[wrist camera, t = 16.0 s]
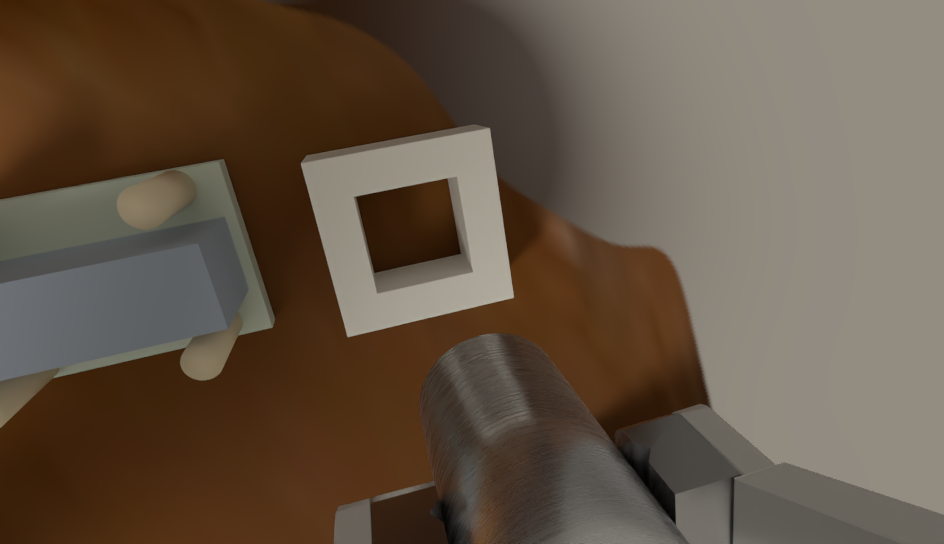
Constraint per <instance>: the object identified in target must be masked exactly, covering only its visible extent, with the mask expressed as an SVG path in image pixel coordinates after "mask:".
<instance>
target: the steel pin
mask: <svg viewBox="0 0 944 544" xmlns="http://www.w3.org/2000/svg"><path fill="white" fill-rule="evenodd" d="M419 412H420V418H421V423H422V428H423V432H424V437H425V442H426V447H427V451H428V456H429V461H430V466H431V470H432V475H433V480H434V481H435V483H436V488H437V492H438V496H439V500H440V504H441V509H442V513H443V518H444V522H445V527H446V531H447V538H448V543H449V544H689V542H688V541H687V540H686V538H685V537H684V536H683V534H682V533H681V532H680V530H679V529H678V528H677V526H676V525H675V524H674V522H673V521H672V520H671V518H670V517H669V516H668V514H667V513H666V512H665V510H664V509H663V508H662V507H661V505H660V504H659V503H658V501H657V500H656V499H655V497H654V496H653V495H652V493H651V492H650V491H649V489H648V488H647V487H646V485H645V484H644V483H643V481H642V480H641V479H640V477H639V476H638V475H637V473H636V472H635V471H634V469H633V468H632V467H631V465H630V464H629V463H628V461H627V460H626V459H625V457H624V456H623V455H622V453H621V452H620V451H619V449H618V448H617V447H616V445H615V444H614V443H613V442H612V440H611V439H610V438H609V436H608V435H607V434H606V432H605V431H604V430H603V428H602V427H601V426H600V424H599V423H598V422H597V420H596V419H595V418H594V416H593V415H592V414H591V412H590V411H589V410H588V408H587V407H586V406H585V404H584V403H583V402H582V400H581V399H580V398H579V396H578V395H577V394H576V392H575V391H574V390H573V388H572V387H571V386H570V384H569V383H568V382H567V381H566V379H565V378H564V377H563V375H562V374H561V373H560V371H559V370H558V369H557V367H556V366H555V365H554V363H553V362H552V361H551V359H550V358H549V357H548V355H547V354H546V353H545V352H544V351H543V350H542V349H541V348H540V347H539V346H537V345H536V344H534V343H533V342H531V341H529V340H527V339H525V338H522V337H519V336H516V335H511V334H501V333H496V334H486V335H481V336H477V337H474V338H471V339H468V340H466V341H464V342H461V343H460V344H458V345H456V346H455V347H453V348H451V349H450V350H449V351H448V352H446V353H445V354H444V355H443V356H442V357H441V358H440V359H439V360H438V361H437V362H436V363H435V364H434V366H433V367H432V368H431V370H430V372H429V373H428V375H427V376H426V379H425V381H424V383H423V386H422V389H421V393H420V400H419Z"/></svg>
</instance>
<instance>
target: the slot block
mask: <svg viewBox="0 0 944 544" xmlns="http://www.w3.org/2000/svg"><path fill="white" fill-rule="evenodd" d="M301 167H302V170H303V174H304V178H305V181H306V185H307V189H308V193H309V196H310V200H311V204H312V207H313V211H314V215H315V218H316V222H317V226H318V229H319V233H320V237H321V241H322V244H323V248H324V252H325V255H326V259H327V263H328V266H329V270H330V274H331V278H332V281H333V285H334V289H335V292H336V296H337V300H338V303H339V307H340V311H341V314H342V318H343V322H344V326H345V329H346V333H347V337H351V336H355V335H359V334H364V333H368V332H372V331H376V330H380V329H385V328H389V327H393V326H397V325H401V324H406V323H410V322H414V321H418V320H422V319H427V318H431V317H435V316H439V315H443V314H448V313H452V312H456V311H460V310H464V309H469V308H473V307H477V306H481V305H485V304H490V303H494V302H498V301H502V300H506V299H511V298H514V294H513V287H512V280H511V273H510V266H509V259H508V252H507V245H506V238H505V231H504V224H503V217H502V210H501V203H500V196H499V189H498V182H497V175H496V168H495V161H494V154H493V147H492V140H491V133H490V128H487V127H483V126H479V125H475V124H474V125H468V126H463V127H457V128H452V129H446V130H441V131H436V132H430V133H425V134H419V135H414V136H409V137H403V138H398V139H392V140H387V141H382V142H376V143H371V144H365V145H360V146H355V147H349V148H344V149H338V150H333V151H327V152H322V153H317V154H311V155H306V157H305V158H304V159H303V161H302V162H301ZM446 178H447V179H448V184H449V190H450V196H451V201H452V207H453V213H454V219H455V224H456V230H457V236H458V241H459V247H460V253H461V254H458V255H453V256H449V257H444V258H440V259H435V260H431V261H426V262H422V263H417V264H413V265H408V266H404V267H399V268H395V269H390V270H386V271H381V272H377V273H374V270H373V265H372V261H371V257H370V253H369V249H368V244H367V240H366V236H365V232H364V228H363V224H362V219H361V215H360V211H359V207H358V203H357V199H356V196H361V195H366V194H371V193H376V192H381V191H386V190H391V189H396V188H401V187H406V186H411V185H416V184H421V183H426V182H431V181H436V180H441V179H446Z"/></svg>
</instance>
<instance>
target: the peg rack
mask: <svg viewBox="0 0 944 544" xmlns="http://www.w3.org/2000/svg"><path fill="white" fill-rule="evenodd" d="M221 217H225V218H226V221H227V224H228V227H229V230H230V233H231V236H232V240H233V243H234V246H235V249H236V252H237V255H238V258H239V261H240V264H241V267H242V270H243V273H244V276H245V279H246V282H247V285H248V288H249V290H248V292H247V294H246V296H245V298H244V300H243V302H242V304H241V306H240V308H239V309H238V311H237V313H236V315H235V317H234V319H233V321H232V323H231V325H230V327H229V329H226V330H222V331H218V332H213V333H209V334H204V335H200V336H196V337H191V338H187V339H182V340H178V341H174V342H169V343H165V344H160V345H156V346H152V347H147V348H143V349H139V350H134V351H130V352H125V353H121V354H117V355H112V356H108V357H103V358H99V359H95V360H90V361H86V362H82V363H77V364H73V365H68V366H64V367H60V368H55V369H51V370H46V371H42V372H38V373H33V374H29V375H24V376H20V377H16V378H11V379H7V380H3V381H0V428H1V427H2V426H3V425H4V424H5V423H6V422H7V421H8V420H9V419H10V418H11V417H13V416H14V415H15V414H16V413H17V412H18V411H19V410H20V409H21V408H22V407H23V406H24V405H25V404H26V403H27V402H28V401H29V400H30V399H31V398H32V397H33V396H34V395H36V394H37V393H38V392H39V391H40V390H41V389H42V388H43V387H44V386H45V385H46V384H47V383H48V382H49V381H50V380H51V379H52V378H56V377H60V376H65V375H69V374H73V373H78V372H82V371H86V370H91V369H95V368H100V367H104V366H108V365H113V364H117V363H121V362H126V361H130V360H134V359H139V358H143V357H147V356H152V355H156V354H160V353H165V352H169V351H173V350H178V349H182V348H186V349H185V350H184V352H183V354H182V355H181V358H180V366H181V368H182V370H183V372H184V373H185V374H186V375H187V376H189V377H191V378H193V379H196V380H210V379H212V378H214V377H216V376H217V375H219V374H220V372H221V371H222V369H223V367H224V365H225V363H226V360H227V358H228V356H229V354H230V352H231V350H232V348H233V345H234V343H235V341H236V339H237V337H238V335H243V334H247V333H251V332H256V331H260V330H264V329H269V328H273V325H274V322H275V317H274V314H273V311H272V308H271V305H270V301H269V298H268V295H267V292H266V289H265V286H264V283H263V280H262V276H261V273H260V270H259V267H258V264H257V261H256V258H255V255H254V252H253V248H252V245H251V242H250V239H249V236H248V233H247V230H246V227H245V223H244V220H243V217H242V214H241V211H240V208H239V205H238V202H237V198H236V195H235V192H234V189H233V186H232V183H231V180H230V177H229V173H228V170H227V167H226V164H225V161H224V159H220V160H215V161H209V162H204V163H198V164H193V165H187V166H182V167H176V168H171V169H165V170H160V171H154V172H149V173H143V174H138V175H132V176H127V177H121V178H116V179H110V180H105V181H99V182H94V183H88V184H83V185H77V186H72V187H66V188H61V189H55V190H50V191H44V192H39V193H33V194H28V195H22V196H17V197H11V198H6V199H0V261H3V260H9V259H14V258H19V257H24V256H29V255H34V254H39V253H44V252H49V251H54V250H59V249H64V248H69V247H74V246H79V245H85V244H90V243H95V242H100V241H105V240H110V239H115V238H120V237H125V236H130V235H135V234H140V233H145V232H150V231H155V230H161V229H166V228H171V227H176V226H181V225H186V224H191V223H196V222H201V221H206V220H211V219H216V218H221Z"/></svg>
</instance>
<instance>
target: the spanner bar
mask: <svg viewBox="0 0 944 544" xmlns="http://www.w3.org/2000/svg"><path fill="white" fill-rule="evenodd" d="M248 290H249V288H248V285H247V282H246V279H245V276H244V273H243V270H242V267H241V264H240V261H239V258H238V255H237V252H236V249H235V246H234V243H233V240H232V236H231V233H230V230H229V227H228V224H227V221H226V218H225V217H221V218H216V219H211V220H206V221H201V222H196V223H191V224H186V225H181V226H176V227H171V228H166V229H161V230H155V231H150V232H145V233H140V234H135V235H130V236H125V237H120V238H115V239H110V240H105V241H100V242H95V243H90V244H85V245H79V246H74V247H69V248H64V249H59V250H54V251H49V252H44V253H39V254H34V255H29V256H24V257H19V258H14V259H9V260H3V261H0V381H3V380H7V379H11V378H16V377H20V376H24V375H29V374H33V373H38V372H42V371H46V370H51V369H55V368H60V367H64V366H68V365H73V364H77V363H82V362H86V361H90V360H95V359H99V358H103V357H108V356H112V355H117V354H121V353H125V352H130V351H134V350H139V349H143V348H147V347H152V346H156V345H160V344H165V343H169V342H174V341H178V340H182V339H187V338H191V337H196V336H200V335H204V334H209V333H213V332H218V331H222V330H226V329H229V327H230V325H231V323H232V321H233V319H234V317H235V315H236V313H237V311H238V309H239V308H240V306H241V304H242V302H243V300H244V298H245V296H246V294H247V292H248Z"/></svg>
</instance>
